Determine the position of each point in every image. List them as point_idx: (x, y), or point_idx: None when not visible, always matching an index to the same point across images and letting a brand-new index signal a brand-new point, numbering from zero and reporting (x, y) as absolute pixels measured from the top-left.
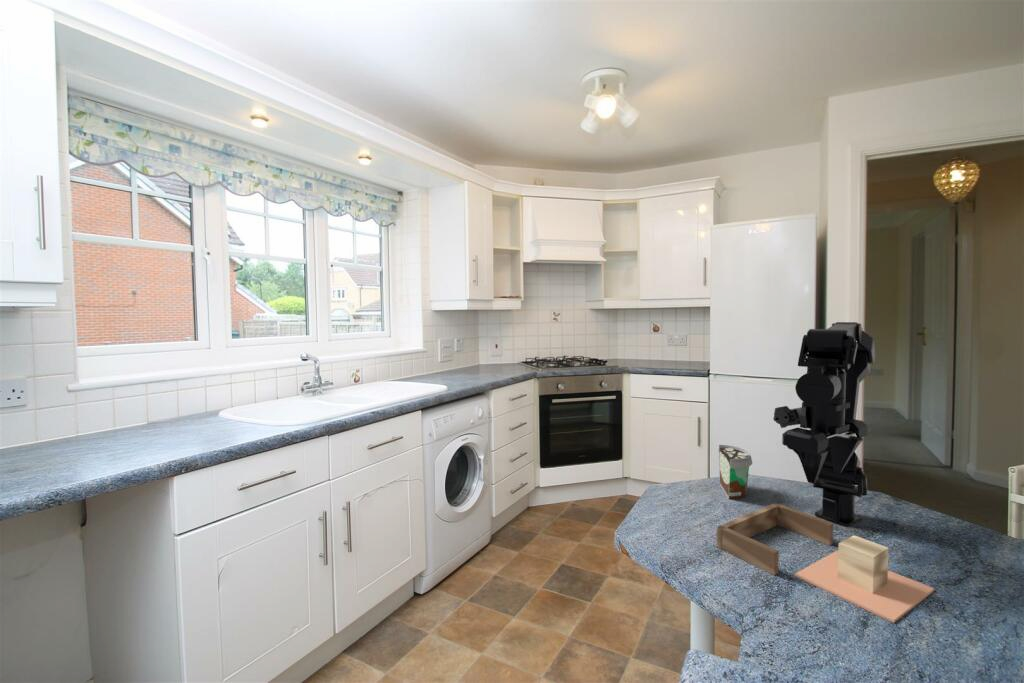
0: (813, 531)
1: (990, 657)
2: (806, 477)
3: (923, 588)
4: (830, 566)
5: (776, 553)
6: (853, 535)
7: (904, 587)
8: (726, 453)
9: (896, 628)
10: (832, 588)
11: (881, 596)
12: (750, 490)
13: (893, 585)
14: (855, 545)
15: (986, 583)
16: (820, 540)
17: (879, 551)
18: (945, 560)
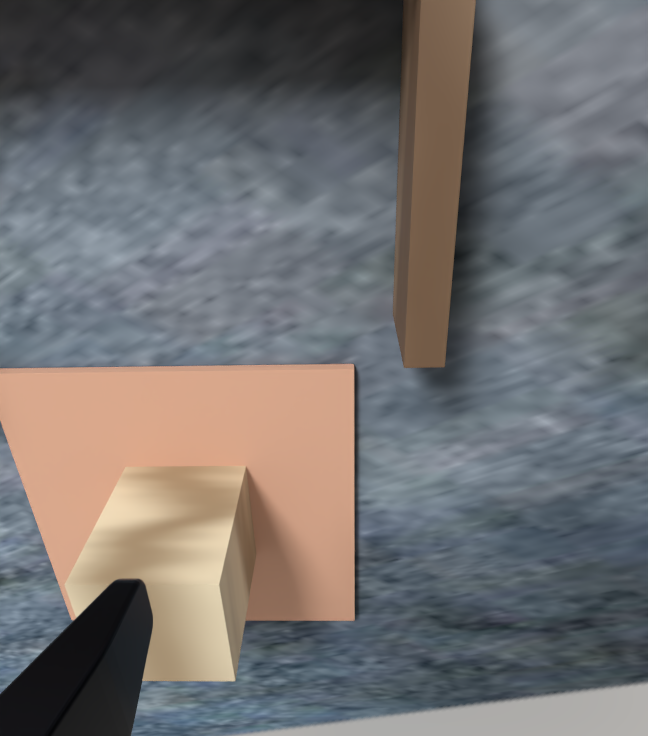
0: (399, 246)
1: (157, 722)
2: (72, 623)
3: (325, 609)
4: (182, 416)
5: None
6: (215, 585)
7: (278, 584)
8: None
9: (60, 621)
10: (42, 486)
11: None
12: None
13: (259, 566)
14: None
15: (534, 660)
16: (395, 272)
17: (167, 675)
18: (623, 577)
